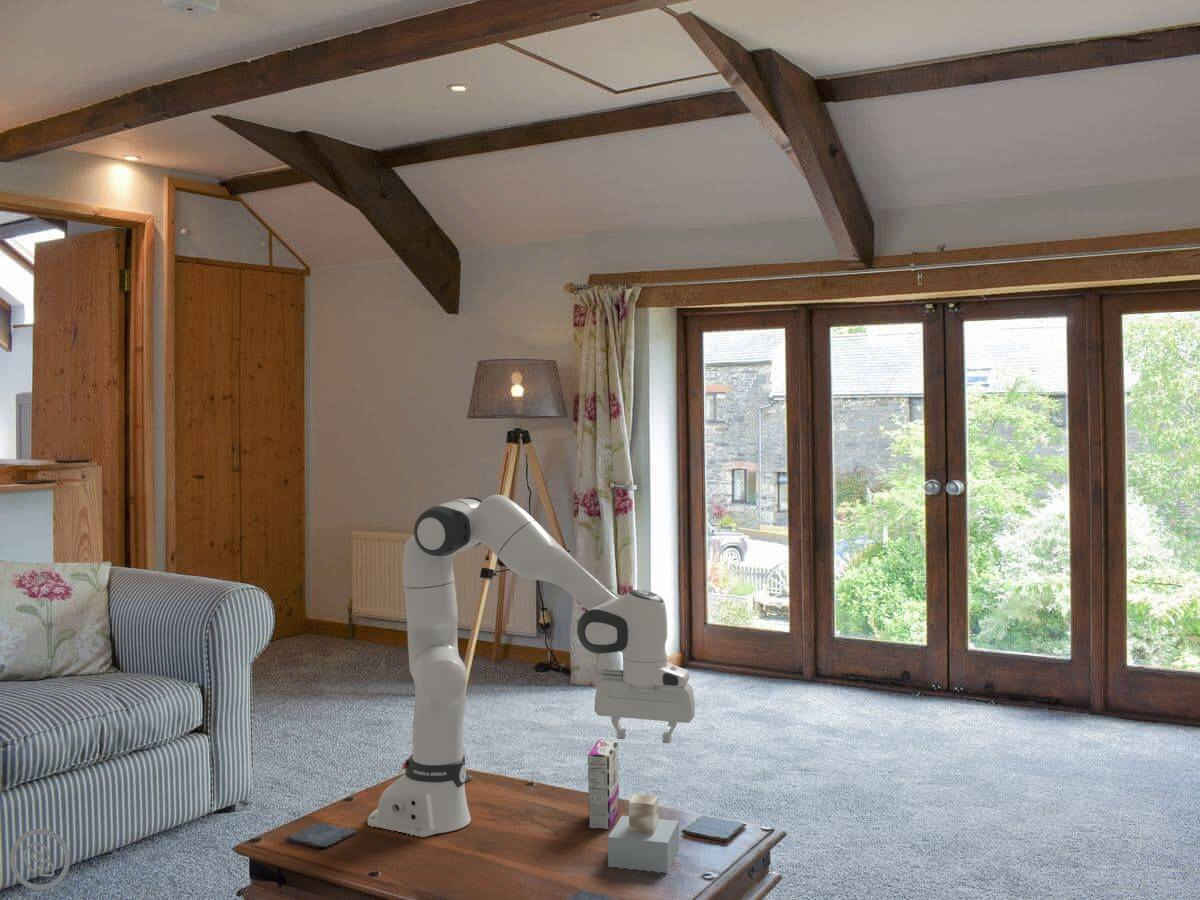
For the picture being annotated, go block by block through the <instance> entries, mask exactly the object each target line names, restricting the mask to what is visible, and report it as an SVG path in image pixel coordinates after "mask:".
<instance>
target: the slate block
mask: <svg viewBox="0 0 1200 900" xmlns="http://www.w3.org/2000/svg"><path fill="white" fill-rule="evenodd" d="M679 827H680V821H679V820H673V819H672V820H671V819H665V818H659V825H658V827H657V829H656V831H655V833H654V834H644V833H634V832H629V815H621V816H620V818H619V819H618V821H617V822H616V824H615V826H614V827H613V829H612V830H611V831H610V833H609V835H608V836H607V867H608V868H614V867H620V868H619V869H623V868H628V869H627V870H633V869H640V870H639V871H642V870H647V871H646V872H651V871H654V873H661V872H663V874H668V873H669V871H670V869H671V867H672V865H673V863H674V861H675V859H674V858H676V857H675V856H677V854H678V852H679V850H680V846H679V845H680V843H679V842H680V841H679V838H680V834H679V833H680V830H679V829H680V828H679ZM673 860H674V861H673ZM672 862H673V863H672Z"/></svg>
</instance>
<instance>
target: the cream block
mask: <svg viewBox="0 0 1200 900" xmlns="http://www.w3.org/2000/svg"><path fill="white" fill-rule="evenodd" d="M659 797H660V796H659V795H652V794H651V795H650V794H649V795H648V794H639V793H634V794H633V796H632V797H631V799H630V800H629V801H628V816H629V832H634V833H644V834H654V833H655V831H656V829H657V827H658V825H659V819H660V818H659V815H660V814H659V806H660V805H659V801H660V800H659V799H660V798H659Z"/></svg>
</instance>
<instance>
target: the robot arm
mask: <svg viewBox="0 0 1200 900" xmlns="http://www.w3.org/2000/svg"><path fill="white" fill-rule="evenodd" d="M481 544H483V545H484V546H486V547H487V548H488V550H490V551H491V552H492V553H493V554H494V555H495V556H496V557H497V558H498V559H499V560H500V562H501V563H502V564H504V565H505V566H506V567H507V568H508V569H509V570H510V571H511V572H513V573H514V574H516V575H517V576H519V577H521V578H522V579H526V580H531V581H532V580H533V581H542V582H547V583H550V584H554V585H557V586H559V587H561V588H562V589H563V590H565V591H566V592H567V593H568V594H570V595H571V596H572V597H573V598H574V599H575V600H576V601H577V602H578V603H579V604H581V605H582V606H583V607H584V608H585V609H586V611H585V612H584V613H583V614H582V615H581V616H580V617H579V619H578V621H577V626H576V634H577V638H578V641H579V642H580V644H581V645H582V646H583V648H585V650H587V651H589V652H591V653H593V654H601V655H604V654H611V653H617V652H621V654H622V670H620V669H607V668H606V669H605V668H604V669H601V670H600V671H598V672H597V673H595V675H594V688H595V690H596V691H595V697H594V703H593V704H594V709H593V710H594V713H595V714H596V715H597V716H600V717H611V719H610V721H611V724H612V726H613V728H614V729H615V731H616V739H618V740H625V739H626V733H627V732H626V731H627V729H626V728H622V726H621V724H620V720H621V719H622V718H624V719H632V720H633V719H635V720H636V719H637V720H645V721H646V720H649V721H660V722H668V724H667V725H668V727H670V729H669V730H668V731H667V732H666V731H664V732H663V734H662V744H671V742H672V733H673V731H674V730H675V729H676V727H677V726H678V723H683V724H687V723H690V722H692V721H693V719H694V718H695V714H696V709H695V708H696V707H695V706H696V705H695V696H694V691H693V688H692V686H691V684H690V683H689V679H690V671H688V669H685V668H682V667H680V666H677V665H675V664H674V663H673V664H672V663H670V662H668V657H667V656H668V655H667V652H666V642H667V638H668V614H667V608H666V604H665V603H666V602H665V600H664V599H663V598H662V597H661V596H660V595H658V594H657V593H656V592H655V593H654V592H652V591H648V590H641V589H640V590H639V589H633V590H630V591H628V592H627V593H625V594H624V595H621V594H618V593H617V592H614V591H613V590H611V588H608V586H606V585H605V584H604V583H603V582H602V581H600V579H599V578H597V577H596V576H595V575H594V574H593V573H592V572H591V571H590V570H588V569H587V567H586V566H584V565H583V564H582V563H580V562H579V561H578V560H577V559H576V558H575V557H574V556H573V555H571V554H570V553H569V552H568V551H567V550H566V549H565V548H564V547H562V545H560V544H559V542H557V541H556V539H554V537H552V536H551V535H550V534H549V532H548V531H547V530H546V529H545V528H544V527H543V526H542V525H541V524H539V522H538V521H537V520H536V519H535V518H533V516H532V515H531V514H529V512H528V511H526V510H525V509H523V508H522V507H521V506H520V505H519V504H517V503H516V502H515V501H513V500H512V499H510V498H509V497H507V496H505V495H503V494H493V495H490V496H487V498H484V499H482V498H479V497H473V496H472V497H471V496H469V497H464V498H459V499H452V500H448V501H446V502H444V503H441V504H438V505H435V506H432V507H430V508H428V509H426V510H424V511H423V512H422V513H421V514H420V515H419V516H418V517H417V519H416V521H415V523H414V525H413V535H412V536H411V537H409V539H407V541H406V542H405V544H404V547H403V548H404V549H403V558H402V578H403V582H402V583H403V592H404V593H403V594H404V602H405V612H406V624H407V627H406V628H407V649H408V664H409V665H408V666H409V672H410V675H411V677H412V679H413V683H414V705H413V706H414V708H413V718H412V754H410V756H409V757H408V758H407V759H406V760H405V761H404V763H402V764H401V770H405V773H404V774H403V775H402V776H400V777H399V778H398V779H396V780H395V781H394V782H393V783H392V784H390V785H389V786H388V787H386V789H384V790H383V791H382V793H381V795H380V798H379V801H378V806H377V808H376V809H375V810H374V811H372V812H371V814H369V816H368V817H367V821H366V822H367V823H368V825H371V826H376V827H381V828H384V829H389V830H394V831H398V832H403V833H407V834H406V835H408V834H410V835H409V836H413V835H415V836H414V837H418V836H419V838H426V837H429V836H433V835H436V834H442V833H443V834H444V833H449V832H453V831H456V830H460V829H462V828H465V827H466V826H468V825H469V824H470V823H471V821H472V817H471V815H470V811H469V807H468V801H467V795H466V788H465V782H466V778H467V777H466V776H467V768H466V756H465V755H464V716H465V711H466V710H465V709H466V700H467V699H466V698H467V697H466V696H467V681H468V672H467V667H466V665H465V663H464V661H463V660H462V658H461V657H460V654H459V647H458V646H459V644H458V618H459V616H458V615H459V612H458V602H457V594H456V593H457V592H456V584H455V575H454V574H455V573H454V558H455V556H456V555H457V554H459V553H462V552H464V551H465V552H466V551H467V550H469V549H471V548H473V547H476V546H479V545H481ZM367 823H366V824H367ZM368 825H367V826H368ZM398 832H397V833H398ZM403 833H402V834H403Z"/></svg>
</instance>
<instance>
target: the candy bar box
mask: <svg viewBox="0 0 1200 900" xmlns="http://www.w3.org/2000/svg"><path fill="white" fill-rule="evenodd" d="M587 759H588V760H587V763H588V764H587V765H588V766H587V768H588V769H587V771H588V772H587V773H588V774H587V777H588V781H587V782H588V827H589V829H593V830H609V831H610V830H611V828H612V827H613V824H614V822H615V820H616V818H617V816H618V814H619V813H620V806H619V804H620V803H619V801H620V800H619V799H620V798H619V797H620V795H619V793H620V792H619V789H620V788H619V740H611V739H597V741H596V743H595V744H594V746H592V748H591V750H590V751H589V753H588V754H587Z"/></svg>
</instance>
